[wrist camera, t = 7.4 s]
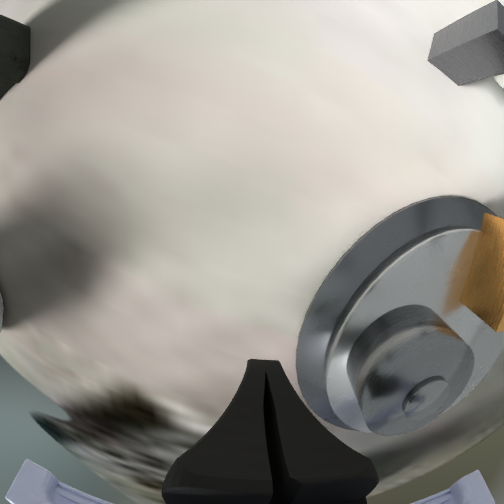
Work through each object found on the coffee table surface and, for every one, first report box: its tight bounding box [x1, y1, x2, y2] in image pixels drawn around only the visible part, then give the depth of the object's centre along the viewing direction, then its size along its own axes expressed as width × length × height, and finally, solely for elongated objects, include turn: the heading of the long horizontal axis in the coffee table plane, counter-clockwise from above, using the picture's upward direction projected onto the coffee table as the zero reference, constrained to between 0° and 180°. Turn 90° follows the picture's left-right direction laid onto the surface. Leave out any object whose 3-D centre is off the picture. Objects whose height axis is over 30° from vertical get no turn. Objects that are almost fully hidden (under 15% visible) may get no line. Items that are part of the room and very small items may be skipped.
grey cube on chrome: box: [428, 0, 504, 89], centre depth 7 cm, size 3×4×6 cm
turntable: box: [323, 213, 504, 433], centre depth 12 cm, size 16×15×5 cm
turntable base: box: [296, 196, 496, 431], centre depth 15 cm, size 18×18×1 cm
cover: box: [346, 304, 474, 436], centre depth 11 cm, size 6×6×4 cm
